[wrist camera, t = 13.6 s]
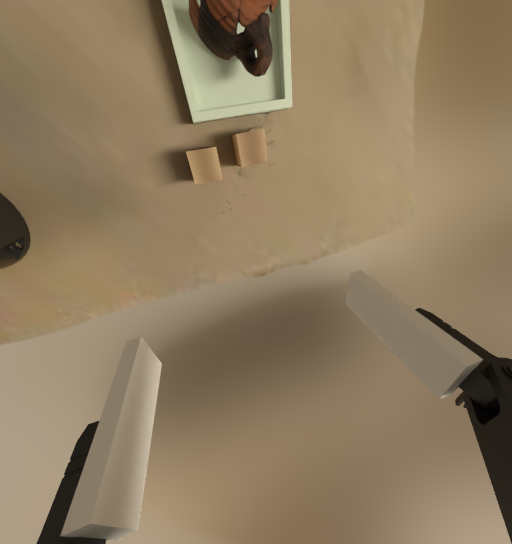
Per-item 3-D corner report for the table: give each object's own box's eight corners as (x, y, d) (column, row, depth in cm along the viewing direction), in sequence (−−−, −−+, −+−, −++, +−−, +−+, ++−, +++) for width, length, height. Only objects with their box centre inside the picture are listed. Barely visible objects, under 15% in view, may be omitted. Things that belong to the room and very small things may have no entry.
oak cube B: (236, 165, 32) (241, 167, 28) (230, 135, 29) (235, 134, 26) (260, 160, 32) (267, 161, 29) (256, 130, 30) (264, 128, 27)
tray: (193, 124, 27) (193, 122, 26) (138, -88, 18) (132, -111, 17) (286, 109, 29) (292, 106, 28) (278, -89, 20) (285, -109, 19)
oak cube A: (194, 180, 31) (195, 184, 28) (186, 151, 29) (185, 151, 26) (219, 176, 32) (222, 179, 28) (213, 147, 29) (216, 146, 26)
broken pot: (161, -22, 20) (177, -166, 13) (229, -28, 24) (269, -144, 17) (226, 106, 25) (262, 49, 18) (274, 86, 28) (320, 32, 21)
